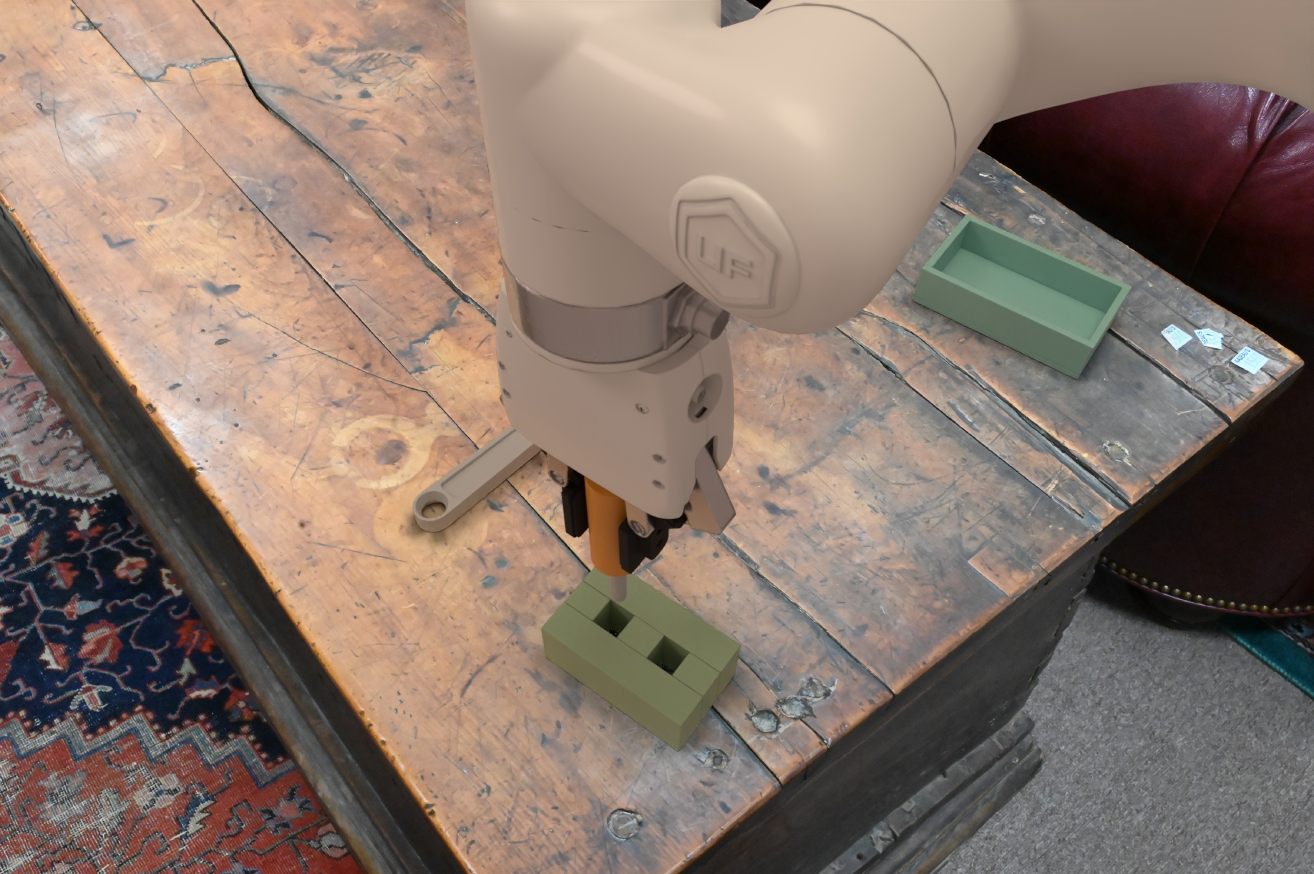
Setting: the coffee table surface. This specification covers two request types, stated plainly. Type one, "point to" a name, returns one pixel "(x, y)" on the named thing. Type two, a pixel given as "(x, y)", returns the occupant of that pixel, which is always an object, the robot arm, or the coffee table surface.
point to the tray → (1021, 294)
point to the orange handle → (606, 535)
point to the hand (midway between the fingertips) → (616, 532)
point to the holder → (642, 654)
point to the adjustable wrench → (474, 478)
